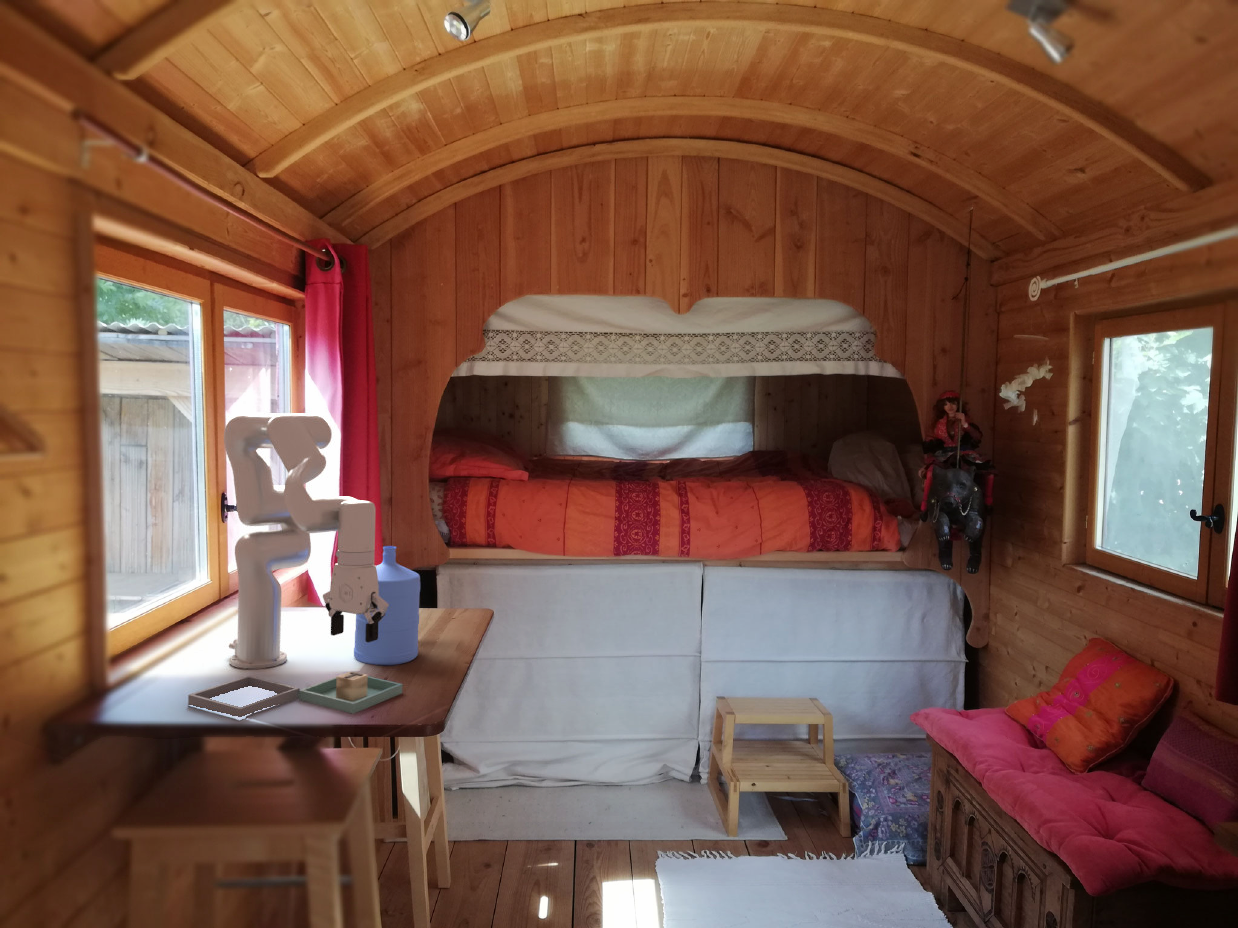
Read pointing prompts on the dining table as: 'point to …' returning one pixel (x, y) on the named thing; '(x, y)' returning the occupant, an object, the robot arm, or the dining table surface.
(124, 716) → the dining table surface
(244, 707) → the brown tray
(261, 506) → the robot arm
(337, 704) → the green tray
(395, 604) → the water jug
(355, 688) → the letter cube
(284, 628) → the dining table surface
